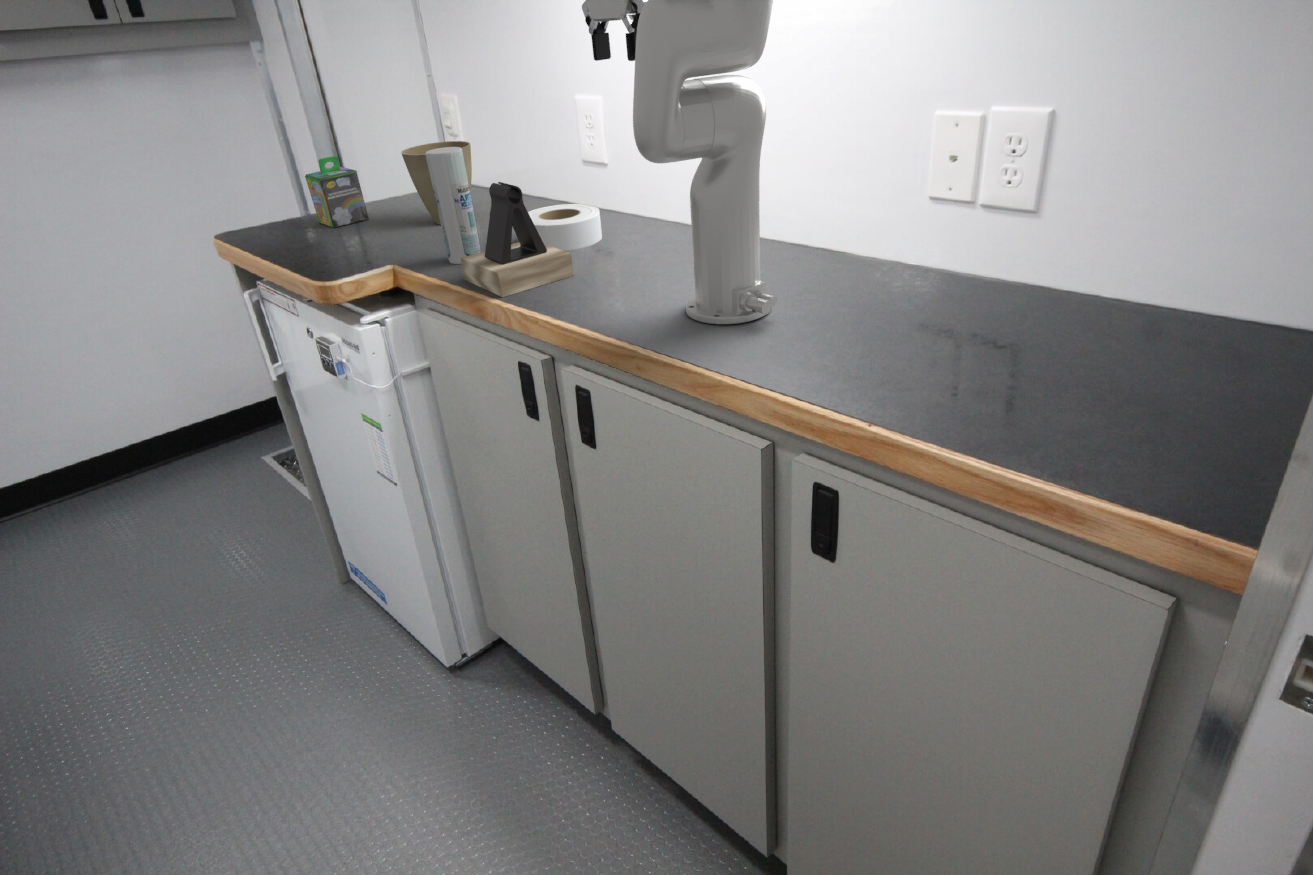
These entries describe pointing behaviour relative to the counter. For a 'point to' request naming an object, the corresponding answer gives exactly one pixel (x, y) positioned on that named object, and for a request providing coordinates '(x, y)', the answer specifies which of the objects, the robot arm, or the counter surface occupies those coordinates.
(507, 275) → the birch base
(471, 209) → the spray can
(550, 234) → the roll of tape
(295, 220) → the counter surface
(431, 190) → the plant pot
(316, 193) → the chalk box
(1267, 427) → the counter surface
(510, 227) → the black triangular stand
